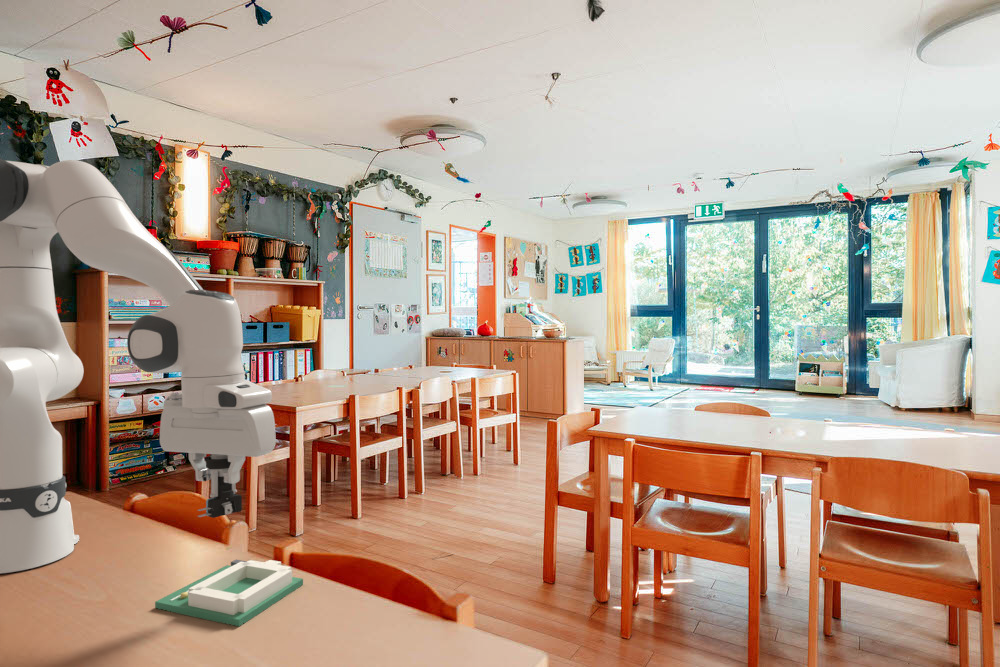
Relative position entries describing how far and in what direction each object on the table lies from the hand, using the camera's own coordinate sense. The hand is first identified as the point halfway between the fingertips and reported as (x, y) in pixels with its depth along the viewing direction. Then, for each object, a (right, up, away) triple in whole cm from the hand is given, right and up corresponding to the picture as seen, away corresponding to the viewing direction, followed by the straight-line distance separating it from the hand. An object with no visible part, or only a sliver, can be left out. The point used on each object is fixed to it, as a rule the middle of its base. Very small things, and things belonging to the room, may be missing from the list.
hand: (217, 481), depth 90 cm
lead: (+2, -18, +10) cm, 21 cm away
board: (+2, -19, +1) cm, 19 cm away
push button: (0, -6, 0) cm, 6 cm away
